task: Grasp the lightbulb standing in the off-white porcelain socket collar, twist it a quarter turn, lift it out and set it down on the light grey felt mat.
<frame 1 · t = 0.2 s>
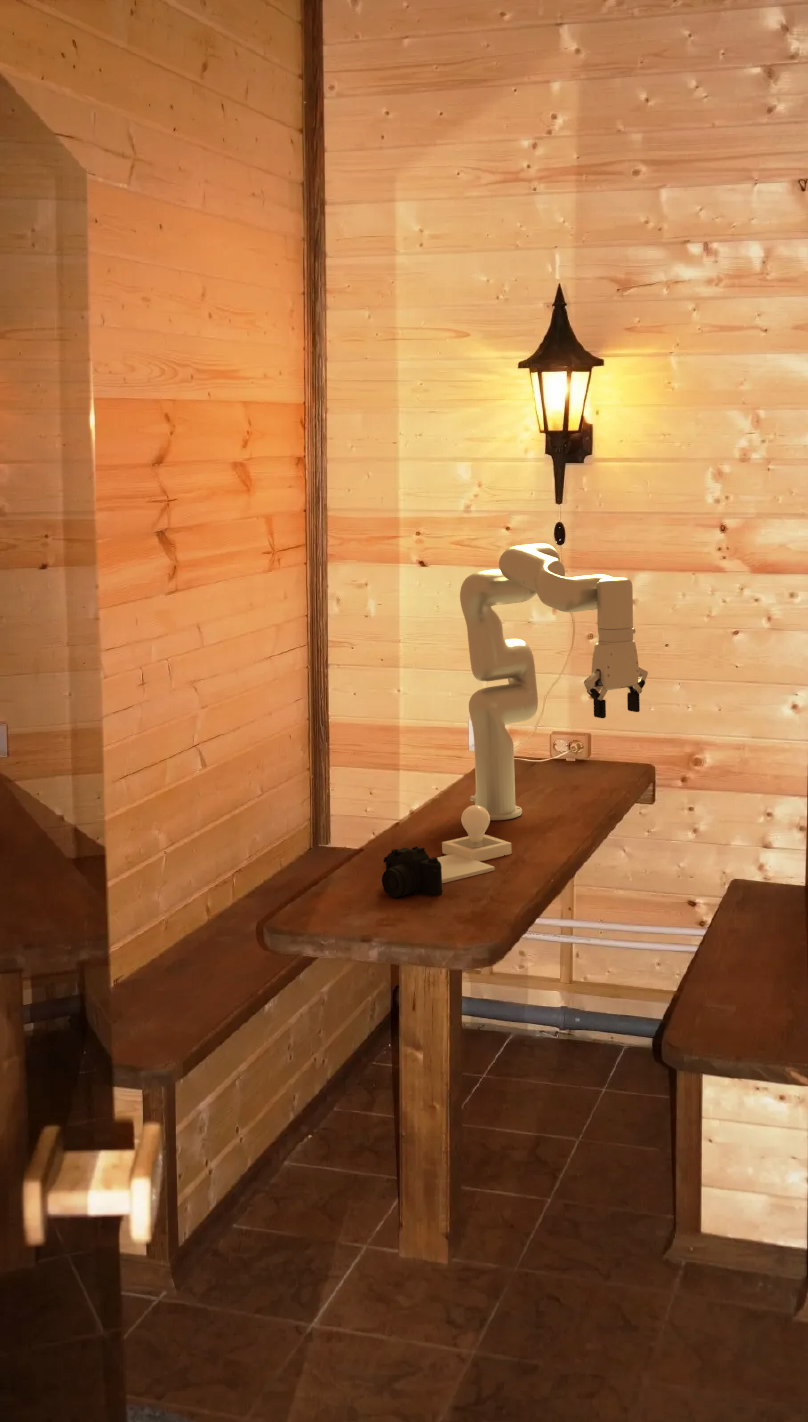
hand: (616, 714, 317), 31 cm above the table, tool pointing down, fingers open, 9 cm apart
felt mat: (449, 869, 315), on the table
socket collar: (476, 853, 326), on the table
film camera: (406, 893, 301), on the table
lightbulb: (476, 854, 326), resting in socket collar
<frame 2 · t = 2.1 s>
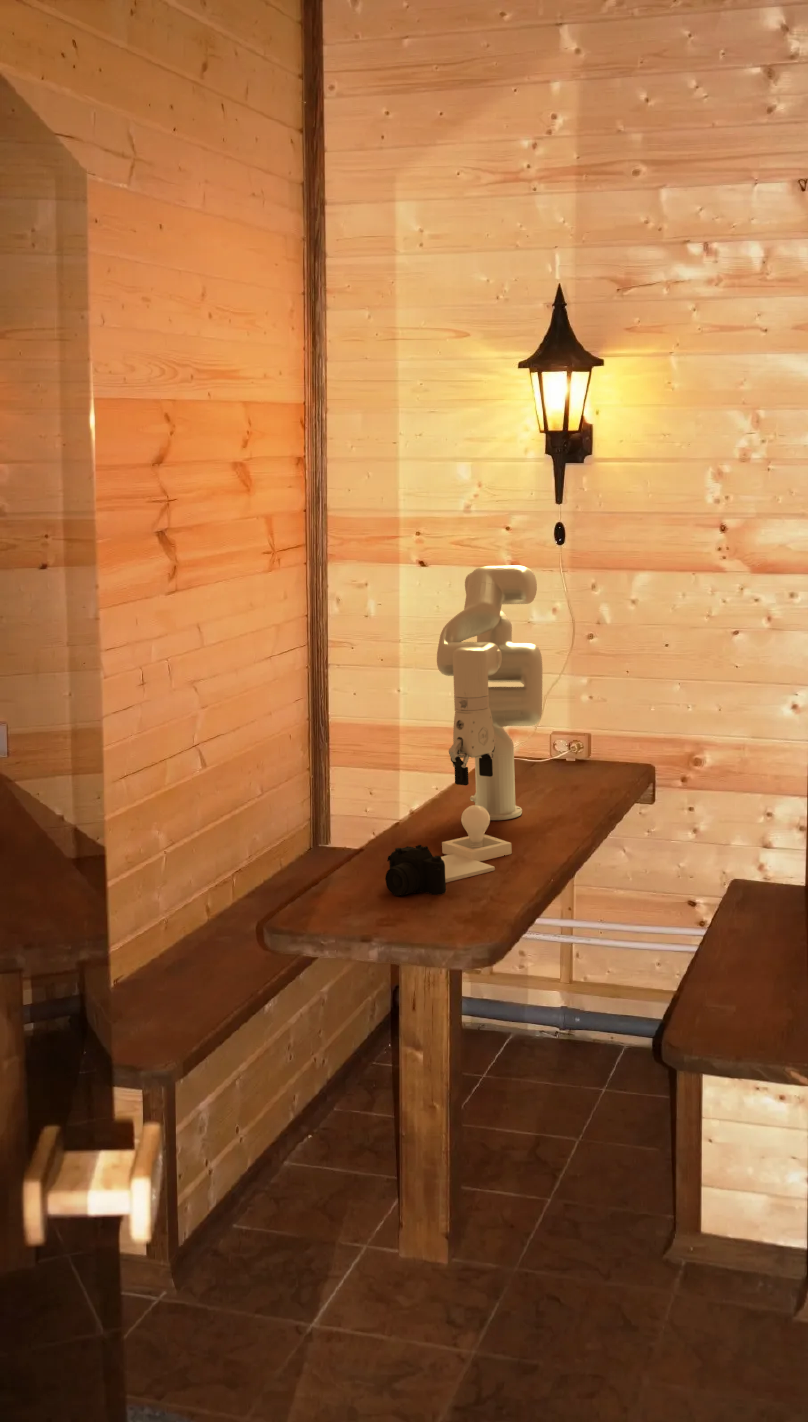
hand: (474, 780, 323), 17 cm above the table, tool pointing down, fingers open, 9 cm apart
film camera: (410, 892, 302), on the table
everything else where it was.
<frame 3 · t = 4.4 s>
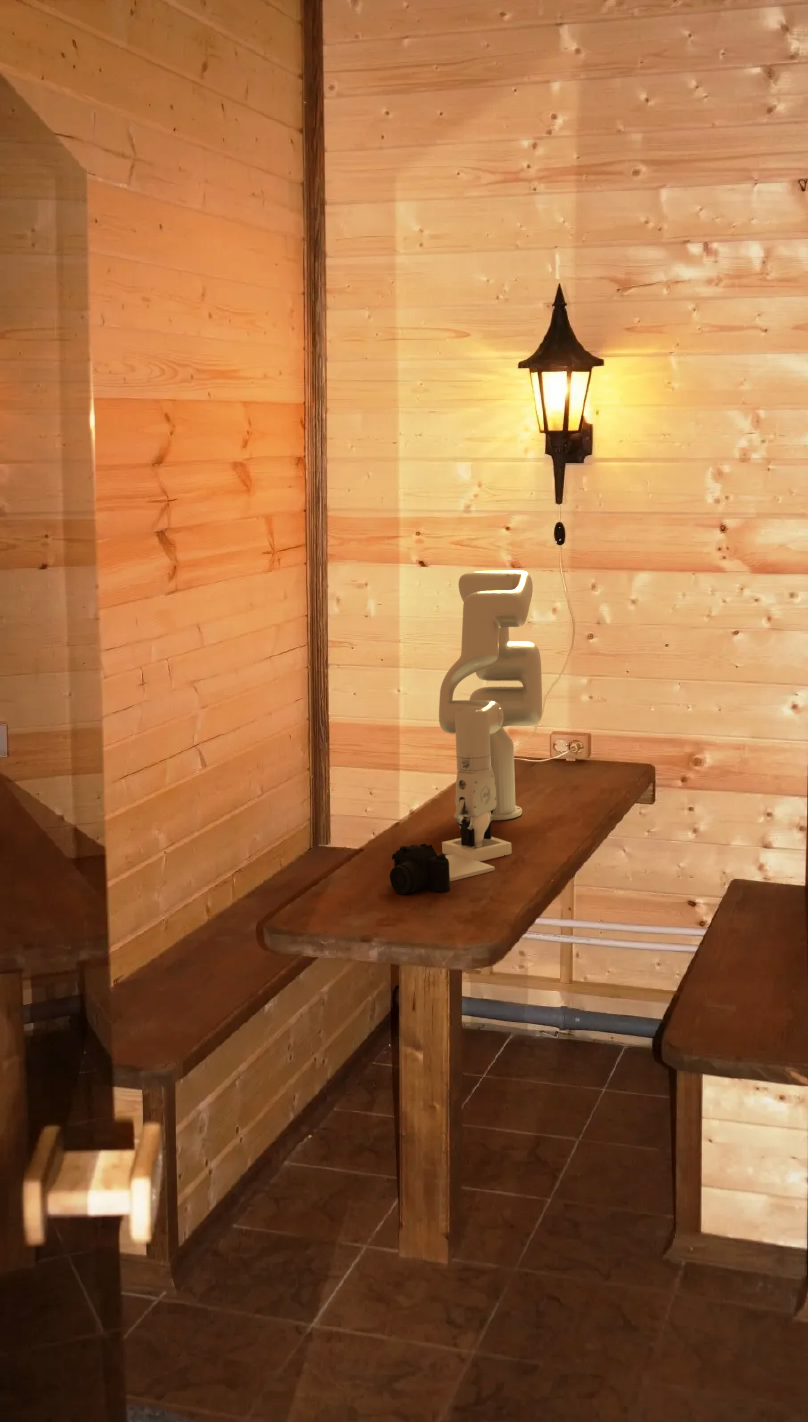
hand: (476, 841, 326), 3 cm above the table, tool pointing down, fingers closed on lightbulb, 6 cm apart
film camera: (414, 890, 303), on the table
lightbulb: (476, 854, 326), resting in socket collar, touching gripper
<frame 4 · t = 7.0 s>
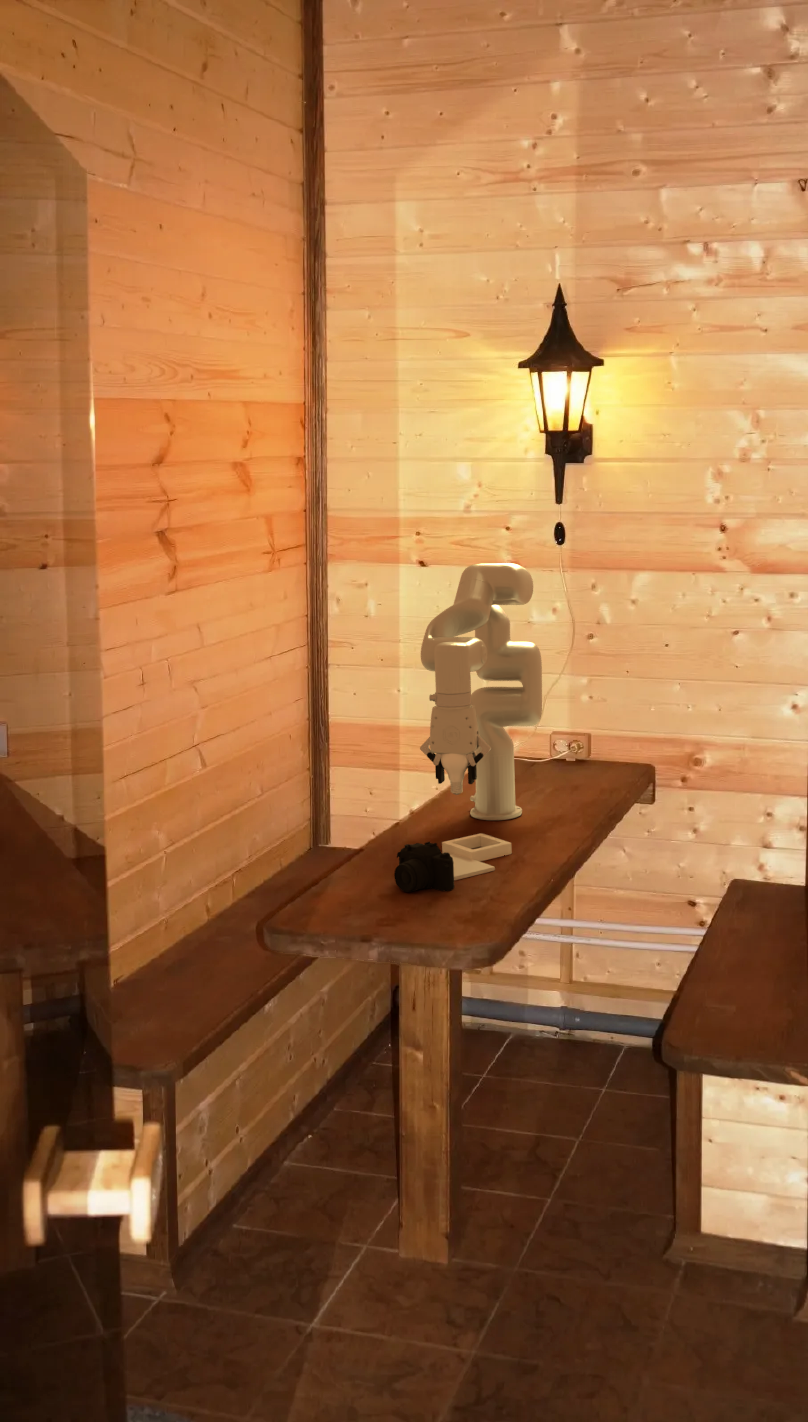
hand: (456, 781, 315), 18 cm above the table, tool pointing down, fingers closed on lightbulb, 6 cm apart
film camera: (419, 888, 304), on the table
lightbulb: (456, 795, 316), point 15 cm above the table, touching gripper
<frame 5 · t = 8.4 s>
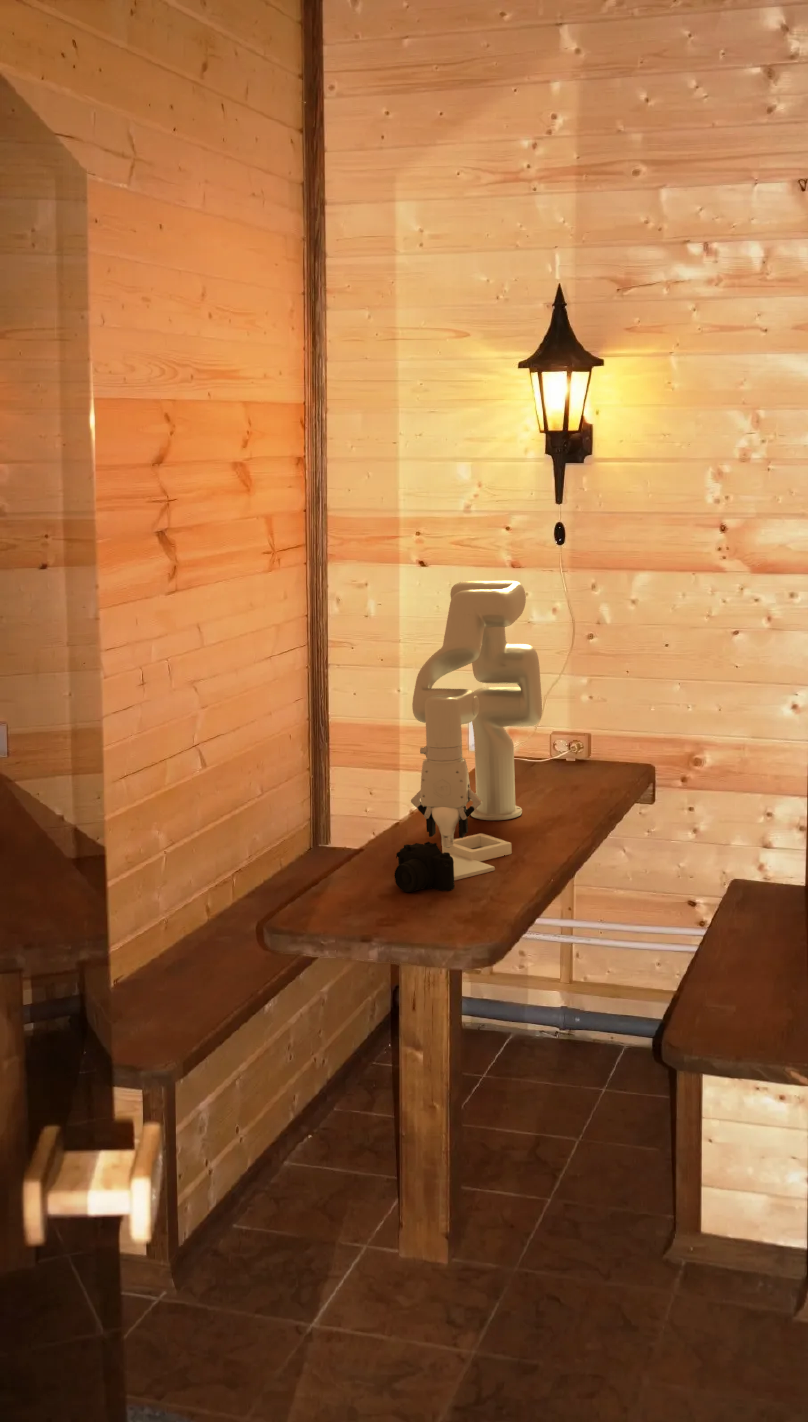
hand: (447, 835, 313), 8 cm above the table, tool pointing down, fingers closed on lightbulb, 6 cm apart
film camera: (419, 888, 304), on the table, touching felt mat
lightbulb: (447, 848, 314), point 5 cm above the table, touching gripper
when the fingers open (5 cm above the table, at t = 9.6 s): lightbulb drops 1 cm, resting on felt mat.
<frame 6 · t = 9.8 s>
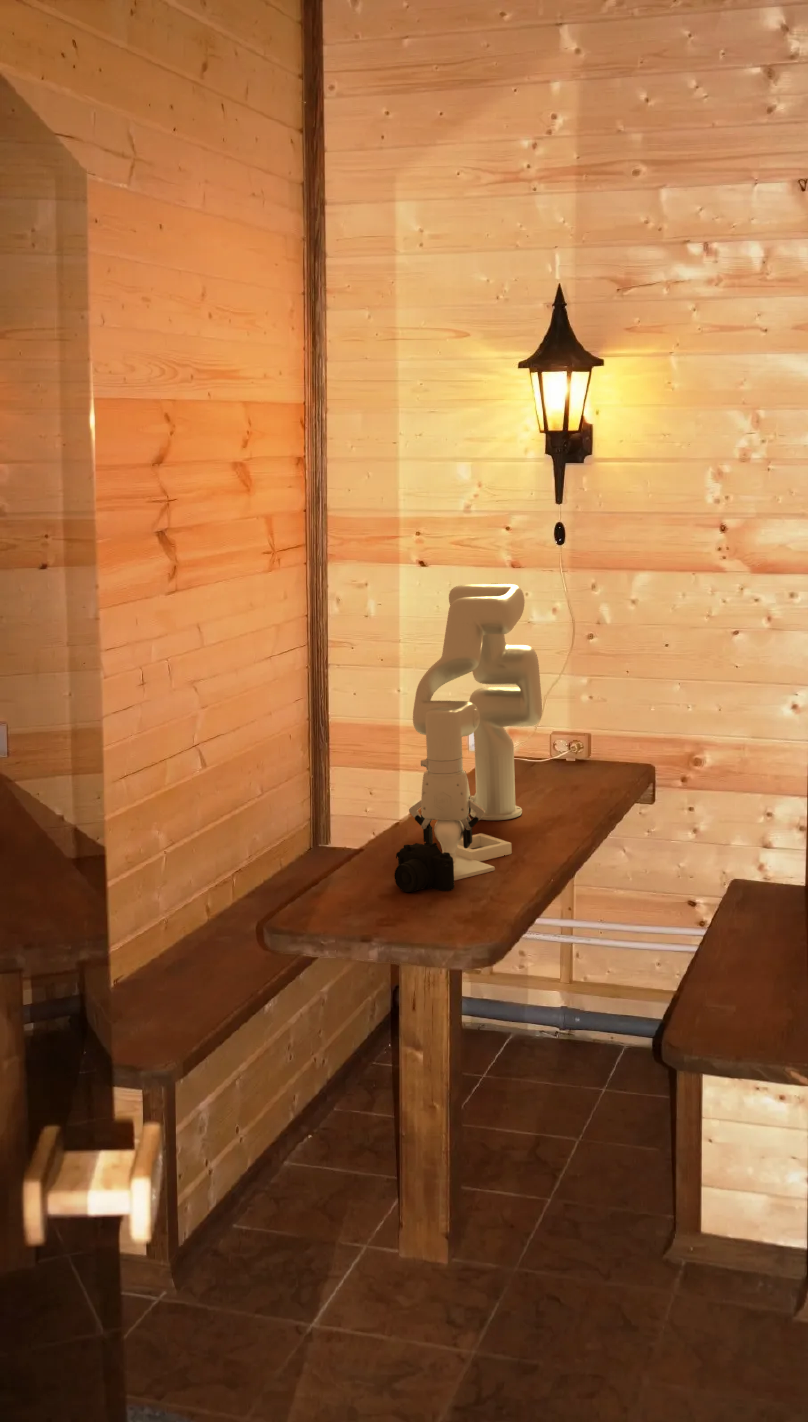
hand: (448, 845, 314), 5 cm above the table, tool pointing down, fingers open, 7 cm apart
film camera: (419, 888, 304), on the table
lightbulb: (449, 866, 315), point 1 cm above the table, touching felt mat
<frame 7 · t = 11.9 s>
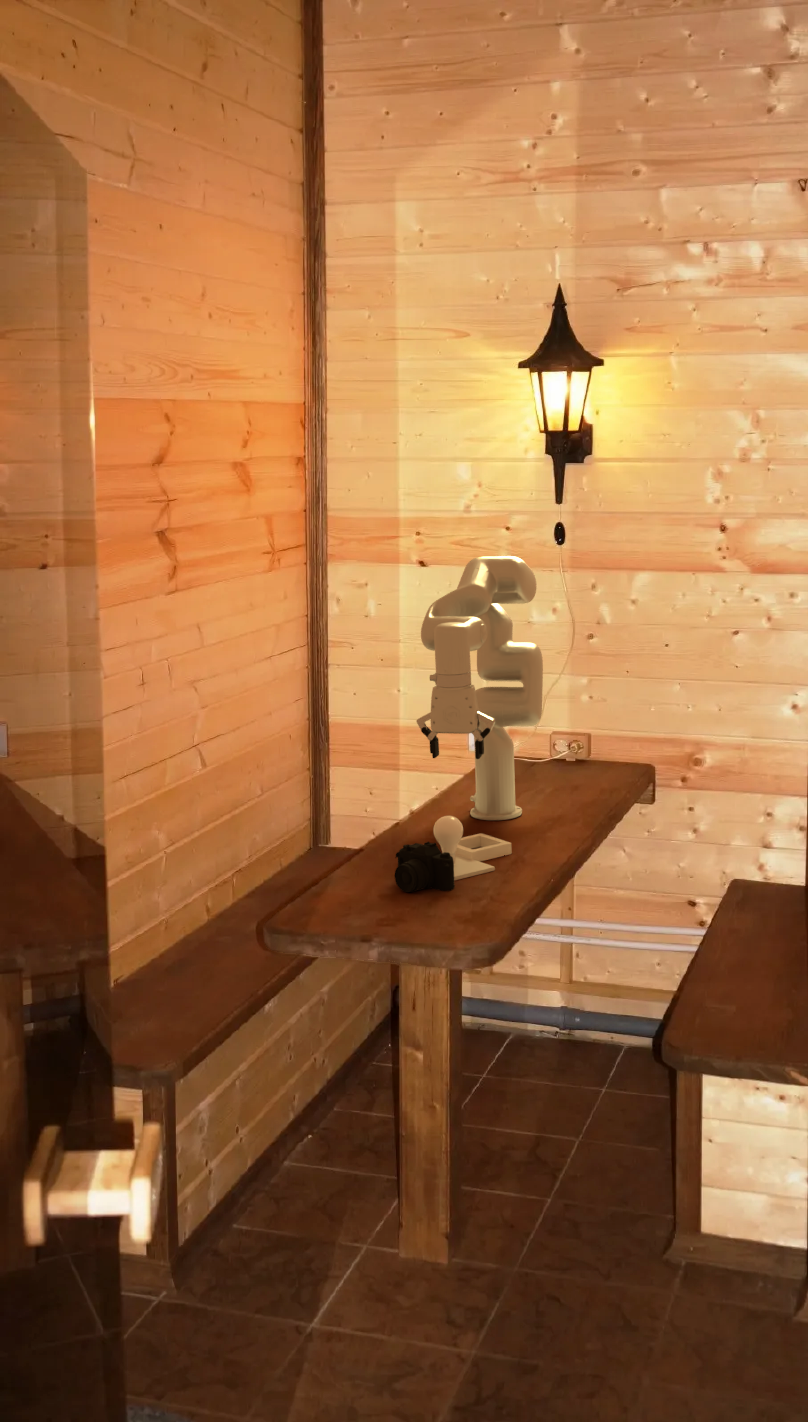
hand: (457, 757, 319), 23 cm above the table, tool pointing down, fingers open, 9 cm apart
film camera: (419, 888, 304), on the table, touching felt mat
everything else where it was.
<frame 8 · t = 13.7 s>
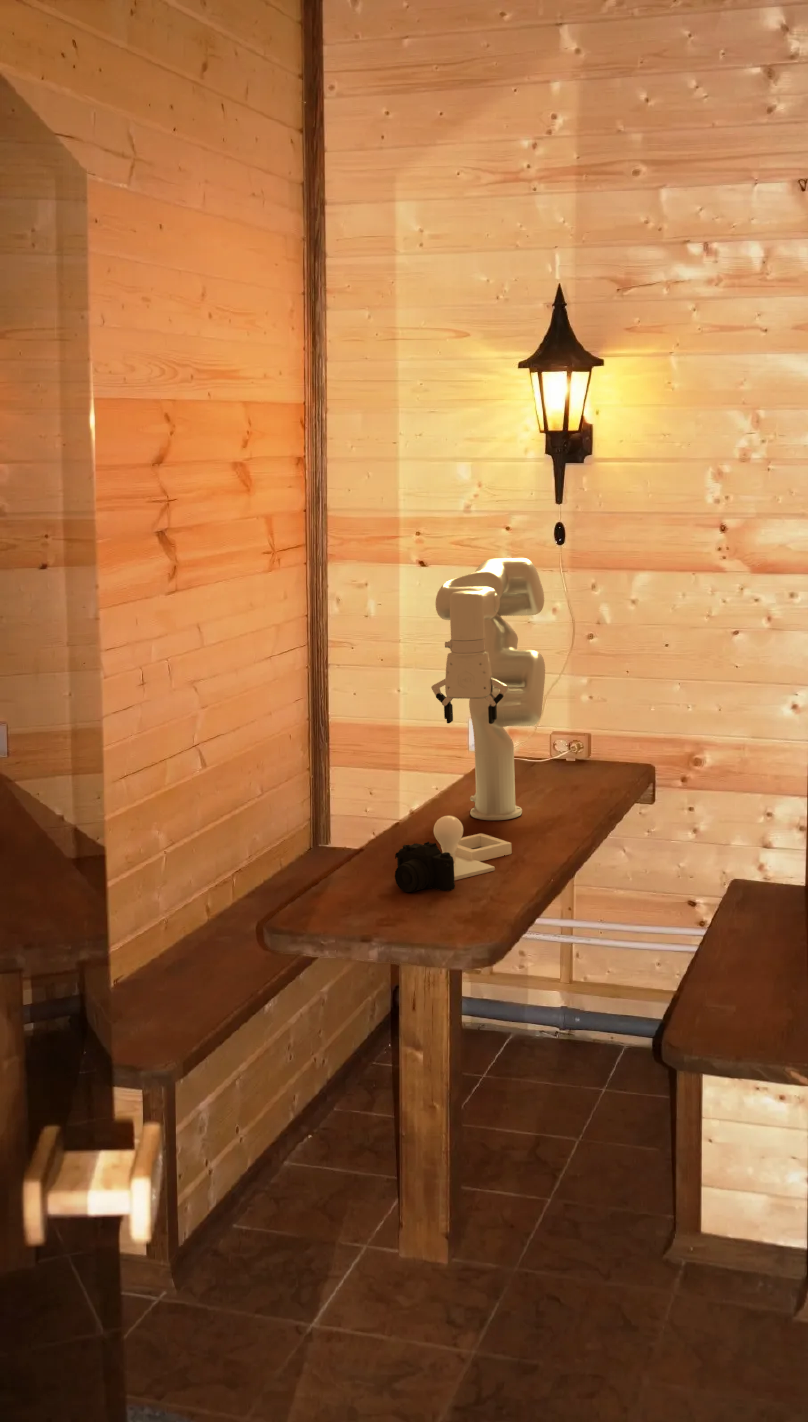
hand: (470, 722, 328), 28 cm above the table, tool pointing down, fingers open, 9 cm apart
film camera: (419, 888, 304), on the table
everything else where it was.
at the end: lightbulb inside the target area on the felt mat (0.3 cm from its centre), point 0.6 cm above the felt mat's base; lightbulb moved 13.1 cm from its start; the gripper is holding nothing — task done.
